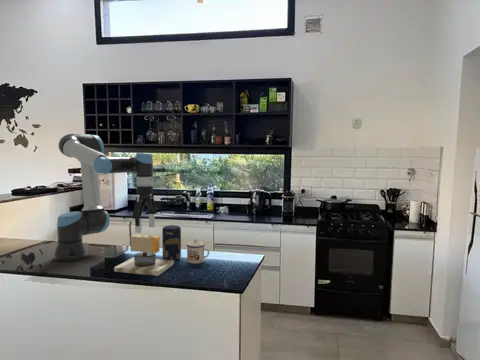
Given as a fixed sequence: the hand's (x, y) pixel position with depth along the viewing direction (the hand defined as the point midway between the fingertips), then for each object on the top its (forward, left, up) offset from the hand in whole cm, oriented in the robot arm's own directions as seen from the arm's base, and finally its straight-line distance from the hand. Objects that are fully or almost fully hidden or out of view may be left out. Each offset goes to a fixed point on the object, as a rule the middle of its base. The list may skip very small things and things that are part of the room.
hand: (145, 230), depth 181 cm
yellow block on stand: (0, 0, -16) cm, 16 cm away
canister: (+6, +18, -19) cm, 27 cm away
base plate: (0, 0, -19) cm, 19 cm away
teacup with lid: (+21, +17, -19) cm, 33 cm away
